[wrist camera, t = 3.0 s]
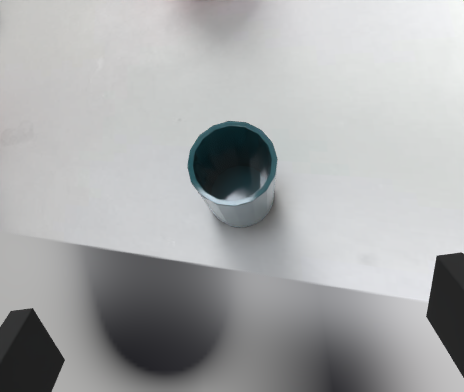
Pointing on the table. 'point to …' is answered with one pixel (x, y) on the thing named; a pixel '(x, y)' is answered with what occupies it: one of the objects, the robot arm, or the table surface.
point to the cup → (234, 172)
